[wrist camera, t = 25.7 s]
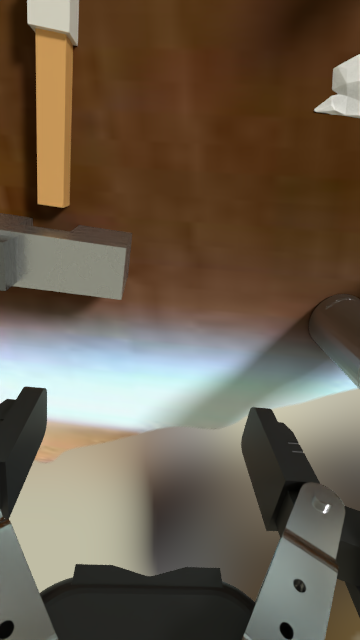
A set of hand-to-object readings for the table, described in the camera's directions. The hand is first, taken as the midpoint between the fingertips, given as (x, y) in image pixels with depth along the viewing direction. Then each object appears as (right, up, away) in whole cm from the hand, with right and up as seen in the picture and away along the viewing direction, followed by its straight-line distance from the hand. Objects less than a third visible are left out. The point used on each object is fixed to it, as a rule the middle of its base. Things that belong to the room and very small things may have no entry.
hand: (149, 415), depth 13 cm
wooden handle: (-13, +29, +26) cm, 41 cm away
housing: (-16, +14, +32) cm, 38 cm away
